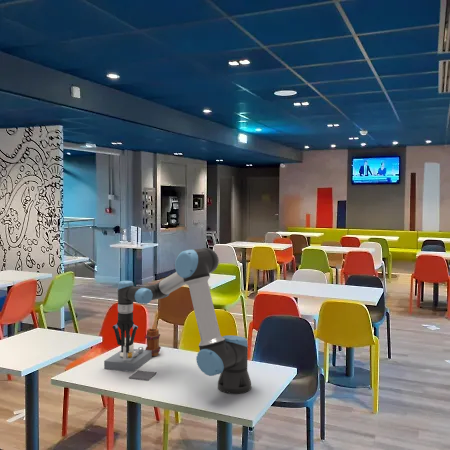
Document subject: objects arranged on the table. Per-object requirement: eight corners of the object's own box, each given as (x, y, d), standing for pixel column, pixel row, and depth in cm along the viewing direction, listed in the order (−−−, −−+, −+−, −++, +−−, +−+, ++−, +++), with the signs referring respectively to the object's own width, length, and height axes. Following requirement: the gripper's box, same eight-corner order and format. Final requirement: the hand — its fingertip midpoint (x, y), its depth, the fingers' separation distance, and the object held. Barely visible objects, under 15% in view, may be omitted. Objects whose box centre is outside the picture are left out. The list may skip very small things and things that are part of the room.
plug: (132, 366, 242) (132, 337, 241) (116, 365, 244) (116, 336, 243) (140, 361, 250) (140, 333, 250) (124, 359, 253) (124, 331, 252)
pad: (148, 380, 223) (148, 379, 223) (128, 378, 225) (128, 377, 225) (156, 373, 232) (156, 372, 232) (137, 371, 235) (137, 370, 235)
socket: (133, 371, 235) (133, 361, 234) (104, 368, 239) (104, 358, 239) (151, 357, 256) (151, 348, 256) (124, 355, 260) (124, 346, 260)
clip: (131, 360, 235) (131, 353, 235) (126, 360, 236) (126, 353, 236) (144, 349, 253) (143, 343, 253) (139, 349, 253) (139, 342, 253)
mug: (158, 358, 256) (158, 330, 255) (143, 357, 256) (143, 330, 255) (162, 349, 270) (162, 323, 270) (148, 349, 271) (148, 323, 270)
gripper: (110, 313, 234) (110, 360, 235) (135, 314, 232) (135, 361, 233) (115, 309, 241) (115, 355, 242) (140, 310, 240) (140, 357, 241)
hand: (125, 358), depth 238 cm, fingers closed
